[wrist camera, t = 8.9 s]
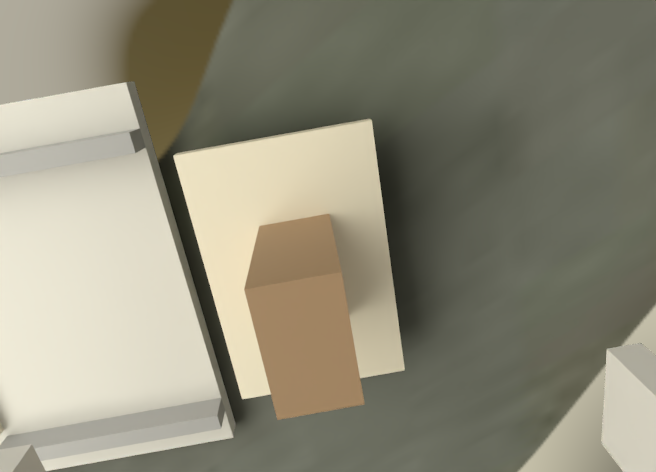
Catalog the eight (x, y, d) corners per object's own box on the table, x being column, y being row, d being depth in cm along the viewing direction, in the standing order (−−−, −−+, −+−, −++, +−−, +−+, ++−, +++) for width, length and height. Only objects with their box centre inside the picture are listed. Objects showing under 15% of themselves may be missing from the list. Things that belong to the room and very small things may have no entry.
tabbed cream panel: (369, 118, 19) (403, 143, 13) (402, 363, 23) (439, 470, 17) (176, 153, 19) (119, 194, 13) (243, 391, 23) (223, 508, 17)
